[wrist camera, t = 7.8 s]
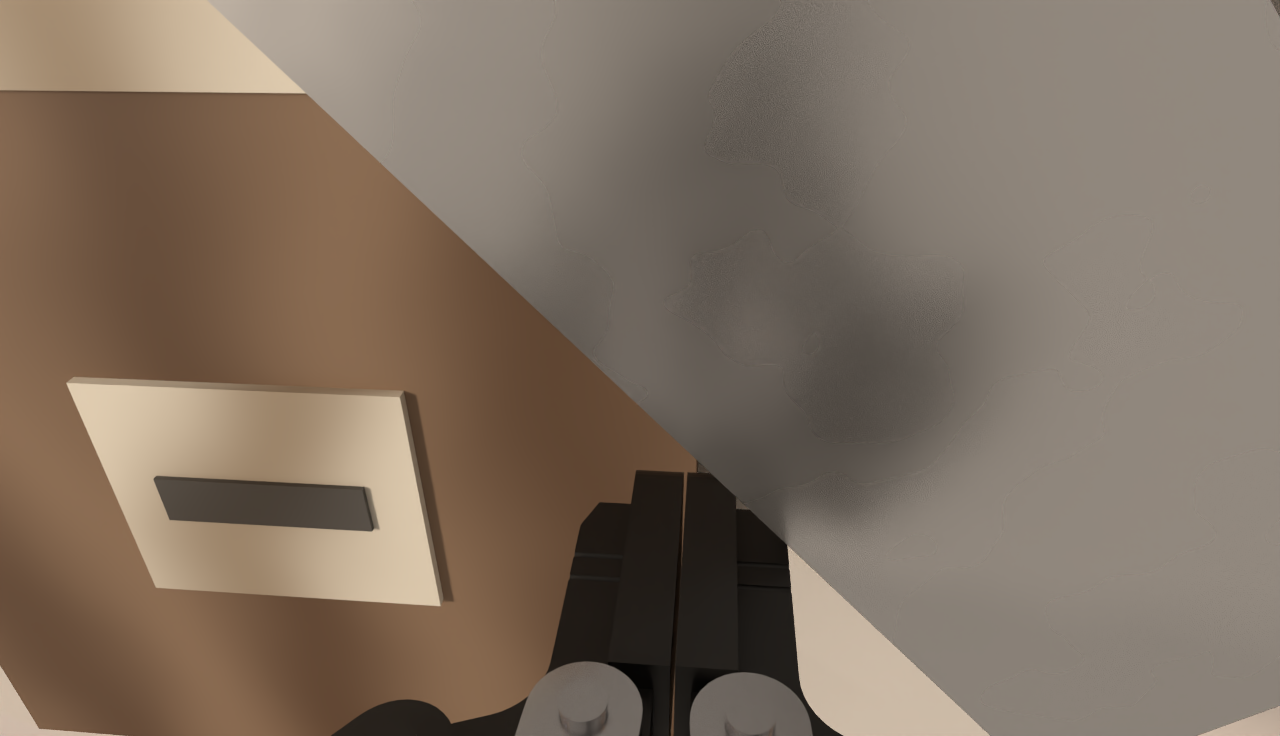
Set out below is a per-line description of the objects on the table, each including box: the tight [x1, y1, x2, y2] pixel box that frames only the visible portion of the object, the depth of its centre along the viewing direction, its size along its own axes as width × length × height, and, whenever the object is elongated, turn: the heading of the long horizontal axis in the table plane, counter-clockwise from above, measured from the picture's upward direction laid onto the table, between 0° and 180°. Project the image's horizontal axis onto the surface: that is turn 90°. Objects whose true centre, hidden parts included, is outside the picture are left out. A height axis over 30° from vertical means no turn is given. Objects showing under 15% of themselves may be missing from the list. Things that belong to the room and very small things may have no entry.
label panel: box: [0, 0, 698, 736], centre depth 13 cm, size 16×28×2 cm, turn 1°
